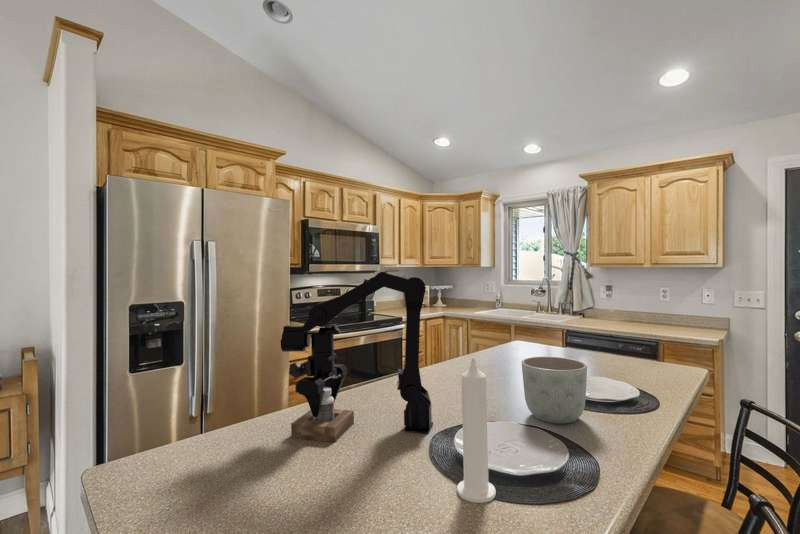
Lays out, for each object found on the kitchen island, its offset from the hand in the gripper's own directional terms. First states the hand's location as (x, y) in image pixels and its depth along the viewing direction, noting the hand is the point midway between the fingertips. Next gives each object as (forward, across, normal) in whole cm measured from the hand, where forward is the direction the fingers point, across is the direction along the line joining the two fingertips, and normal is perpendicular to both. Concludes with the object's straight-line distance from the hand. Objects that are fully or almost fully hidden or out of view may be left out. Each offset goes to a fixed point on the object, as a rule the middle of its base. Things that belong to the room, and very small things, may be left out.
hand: (323, 410), depth 104 cm
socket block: (+5, 0, 0) cm, 5 cm away
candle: (+5, +20, +41) cm, 46 cm away
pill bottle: (+4, 0, 0) cm, 4 cm away
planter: (+6, -22, +59) cm, 63 cm away
